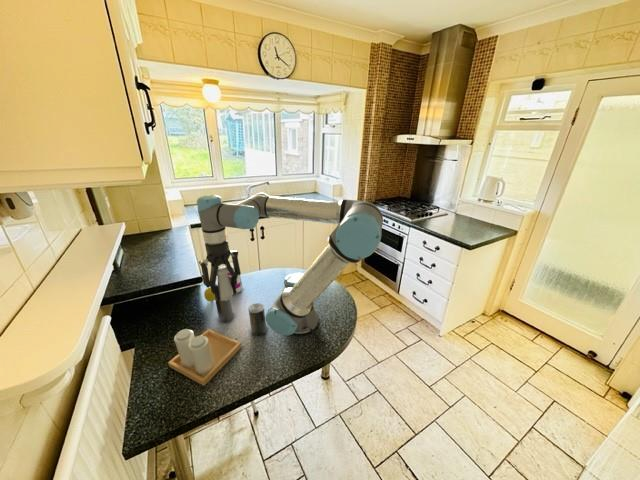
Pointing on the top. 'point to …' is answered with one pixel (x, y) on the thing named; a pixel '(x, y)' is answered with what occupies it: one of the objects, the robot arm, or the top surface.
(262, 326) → the grey canister near
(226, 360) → the tray
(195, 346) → the white shaker
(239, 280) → the supplement can
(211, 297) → the lemon
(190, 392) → the top surface
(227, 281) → the salt shaker
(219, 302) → the grey canister far
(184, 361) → the white shaker
